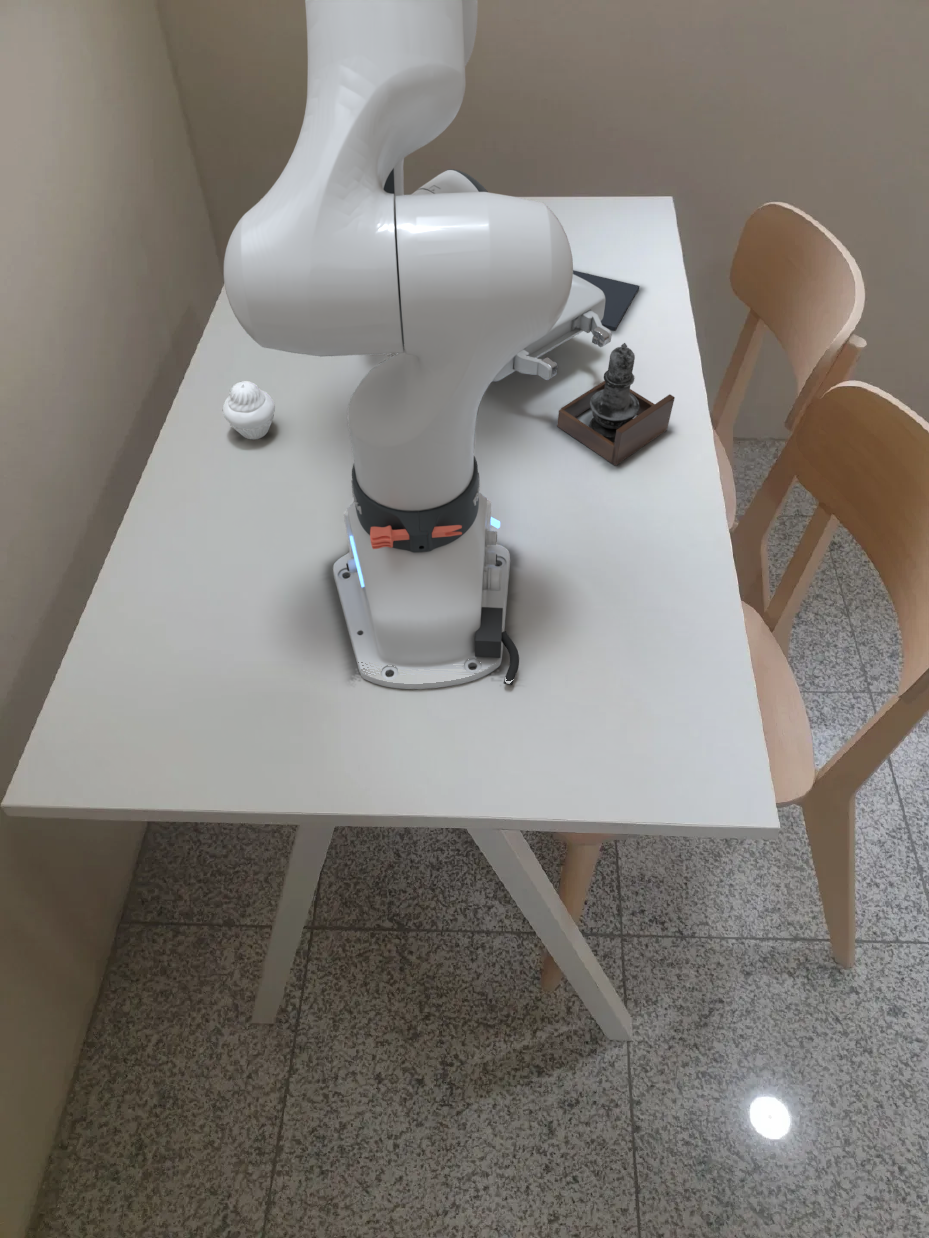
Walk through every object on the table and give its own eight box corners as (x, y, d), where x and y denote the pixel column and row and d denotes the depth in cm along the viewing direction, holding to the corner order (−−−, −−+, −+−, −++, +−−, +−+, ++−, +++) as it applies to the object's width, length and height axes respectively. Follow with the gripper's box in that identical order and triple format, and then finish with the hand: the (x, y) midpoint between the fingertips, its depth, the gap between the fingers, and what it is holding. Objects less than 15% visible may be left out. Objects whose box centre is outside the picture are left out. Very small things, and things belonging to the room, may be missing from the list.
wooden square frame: (556, 426, 103) (559, 392, 99) (608, 392, 107) (613, 359, 103) (615, 466, 99) (621, 433, 95) (667, 430, 102) (675, 397, 98)
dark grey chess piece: (634, 413, 104) (650, 328, 95) (635, 445, 101) (652, 360, 91) (586, 410, 105) (598, 326, 95) (586, 442, 101) (598, 357, 92)
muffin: (269, 451, 101) (257, 404, 95) (221, 444, 102) (207, 397, 96) (287, 418, 104) (276, 371, 99) (241, 411, 105) (227, 364, 100)
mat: (614, 331, 115) (615, 327, 114) (539, 312, 117) (539, 308, 117) (638, 289, 121) (639, 285, 120) (567, 272, 123) (567, 268, 123)
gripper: (438, 317, 100) (519, 370, 93) (558, 254, 108) (640, 299, 101) (439, 362, 105) (517, 415, 98) (554, 299, 113) (632, 344, 107)
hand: (580, 356), depth 100 cm, fingers open, 8 cm apart
